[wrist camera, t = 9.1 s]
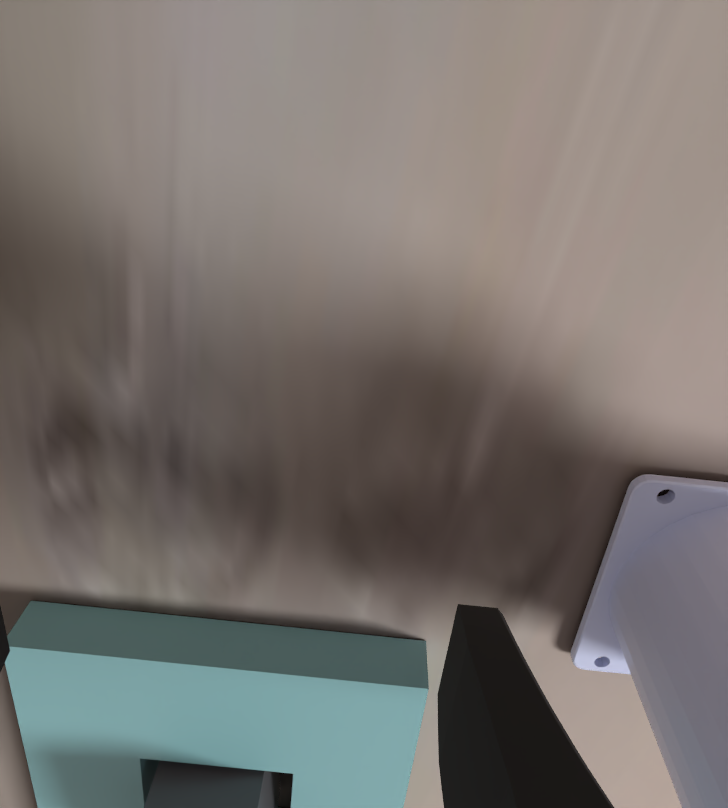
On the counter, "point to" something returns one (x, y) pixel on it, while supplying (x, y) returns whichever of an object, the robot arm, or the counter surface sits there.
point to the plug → (212, 787)
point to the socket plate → (211, 705)
